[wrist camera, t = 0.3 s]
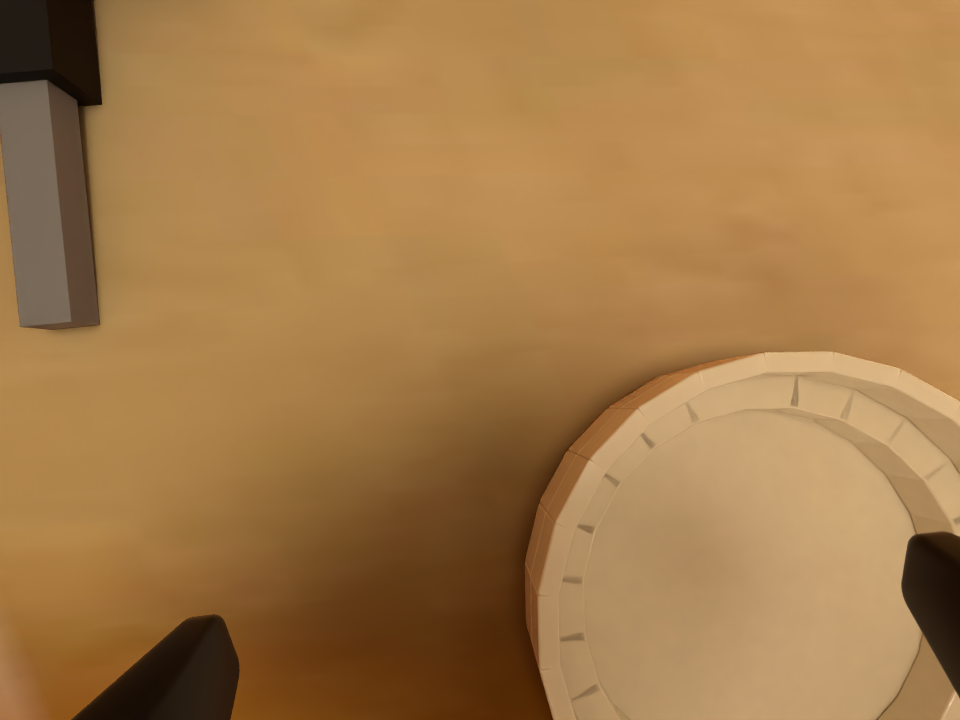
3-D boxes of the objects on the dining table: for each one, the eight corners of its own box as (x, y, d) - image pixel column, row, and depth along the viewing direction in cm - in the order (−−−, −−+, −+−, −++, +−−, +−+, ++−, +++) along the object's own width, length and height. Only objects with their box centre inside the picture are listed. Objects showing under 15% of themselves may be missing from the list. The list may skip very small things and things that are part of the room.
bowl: (1044, 656, 23) (1187, 719, 18) (674, 901, 22) (729, 1031, 17) (807, 282, 23) (889, 253, 19) (441, 506, 22) (435, 531, 18)
